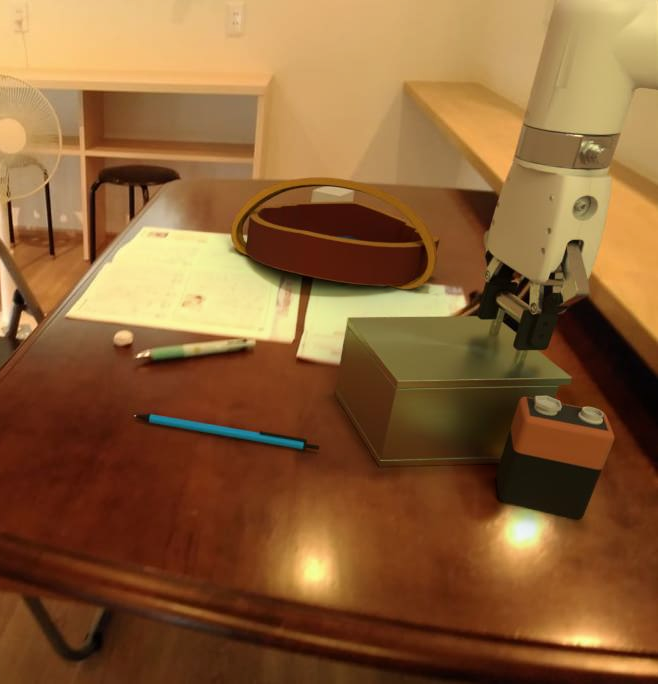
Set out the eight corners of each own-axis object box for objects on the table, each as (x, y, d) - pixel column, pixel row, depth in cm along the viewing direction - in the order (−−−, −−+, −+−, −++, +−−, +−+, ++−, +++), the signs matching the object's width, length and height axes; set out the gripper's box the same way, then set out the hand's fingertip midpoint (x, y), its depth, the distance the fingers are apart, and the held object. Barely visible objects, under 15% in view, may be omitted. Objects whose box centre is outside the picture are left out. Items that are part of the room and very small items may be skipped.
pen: (318, 454, 68) (319, 444, 67) (133, 421, 72) (133, 412, 72) (318, 448, 69) (320, 439, 68) (135, 417, 73) (135, 407, 72)
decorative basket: (450, 280, 117) (473, 191, 112) (402, 311, 94) (427, 201, 89) (270, 242, 135) (283, 163, 130) (193, 260, 112) (204, 166, 107)
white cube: (349, 220, 140) (354, 190, 137) (335, 226, 136) (339, 196, 133) (323, 213, 143) (327, 185, 141) (308, 219, 139) (312, 190, 137)
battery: (494, 475, 66) (522, 385, 61) (574, 493, 63) (610, 401, 59) (497, 503, 62) (527, 409, 57) (582, 523, 60) (621, 427, 55)
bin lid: (493, 322, 76) (506, 274, 73) (569, 385, 64) (589, 330, 61) (346, 323, 74) (354, 275, 72) (396, 388, 62) (408, 333, 60)
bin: (465, 391, 80) (484, 322, 76) (533, 462, 68) (559, 385, 64) (334, 393, 78) (346, 324, 74) (378, 467, 66) (396, 388, 62)
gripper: (679, 172, 53) (603, 375, 61) (546, 131, 68) (500, 298, 76) (586, 172, 52) (522, 377, 61) (474, 131, 68) (435, 298, 76)
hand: (510, 331), depth 68 cm, fingers closed on bin lid, 6 cm apart
